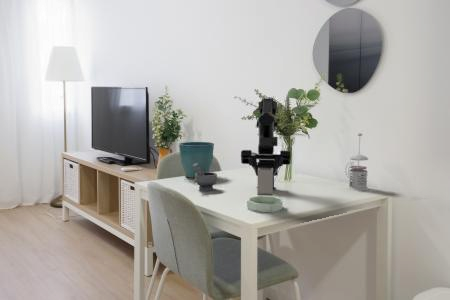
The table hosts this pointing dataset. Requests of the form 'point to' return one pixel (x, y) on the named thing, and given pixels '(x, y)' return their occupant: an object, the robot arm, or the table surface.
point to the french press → (357, 173)
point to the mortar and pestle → (204, 178)
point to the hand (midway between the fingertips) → (265, 175)
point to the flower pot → (196, 156)
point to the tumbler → (265, 182)
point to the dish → (264, 203)
